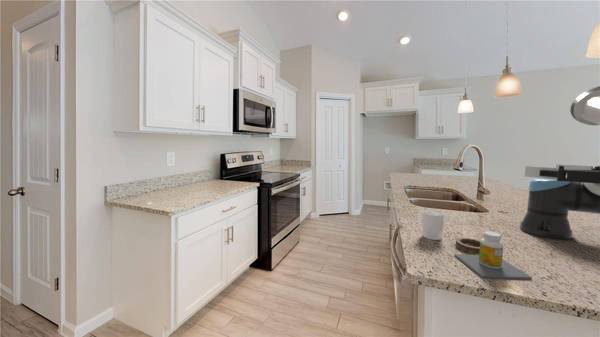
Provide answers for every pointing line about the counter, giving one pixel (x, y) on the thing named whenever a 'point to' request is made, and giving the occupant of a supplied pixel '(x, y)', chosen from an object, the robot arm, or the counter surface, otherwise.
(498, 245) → the supplement bottle
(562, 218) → the robot arm
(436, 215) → the white cup
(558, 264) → the counter surface
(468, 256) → the mat
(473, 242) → the collar
